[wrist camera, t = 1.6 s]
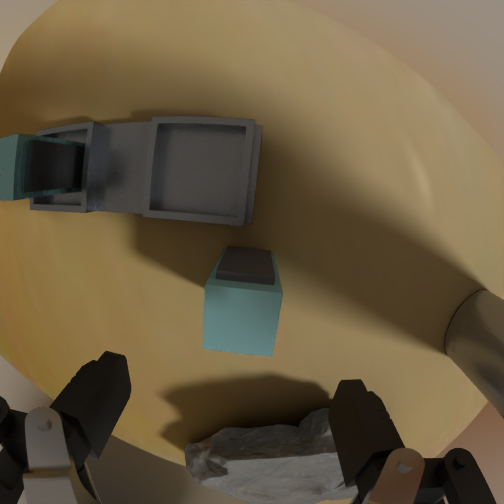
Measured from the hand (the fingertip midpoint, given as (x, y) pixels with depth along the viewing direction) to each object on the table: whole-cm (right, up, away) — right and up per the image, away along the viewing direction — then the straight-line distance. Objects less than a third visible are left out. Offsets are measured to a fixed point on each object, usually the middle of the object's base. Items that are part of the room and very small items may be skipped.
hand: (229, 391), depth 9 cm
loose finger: (0, +3, +13) cm, 14 cm away
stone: (+6, -21, +19) cm, 29 cm away
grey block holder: (-9, +12, +11) cm, 19 cm away
